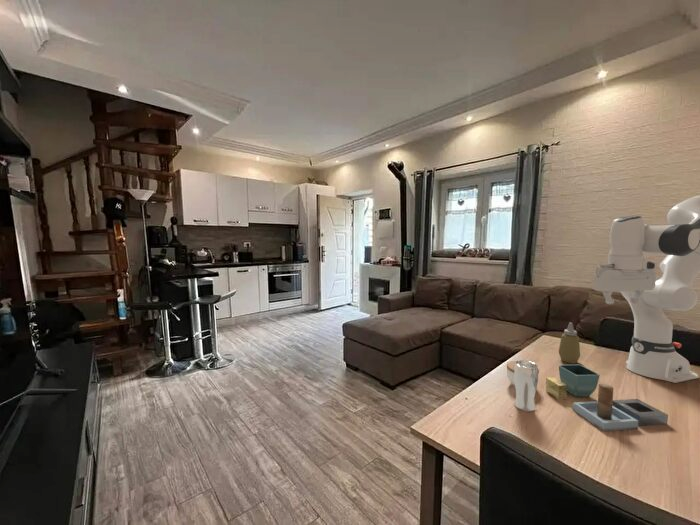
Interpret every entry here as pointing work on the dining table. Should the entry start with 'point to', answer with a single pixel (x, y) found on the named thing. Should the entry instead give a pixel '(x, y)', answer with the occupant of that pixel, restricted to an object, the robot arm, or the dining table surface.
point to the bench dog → (556, 388)
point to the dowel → (605, 401)
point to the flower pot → (578, 379)
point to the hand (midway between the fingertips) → (622, 303)
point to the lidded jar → (512, 371)
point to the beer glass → (525, 384)
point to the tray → (616, 423)
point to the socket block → (641, 412)
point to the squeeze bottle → (569, 345)
